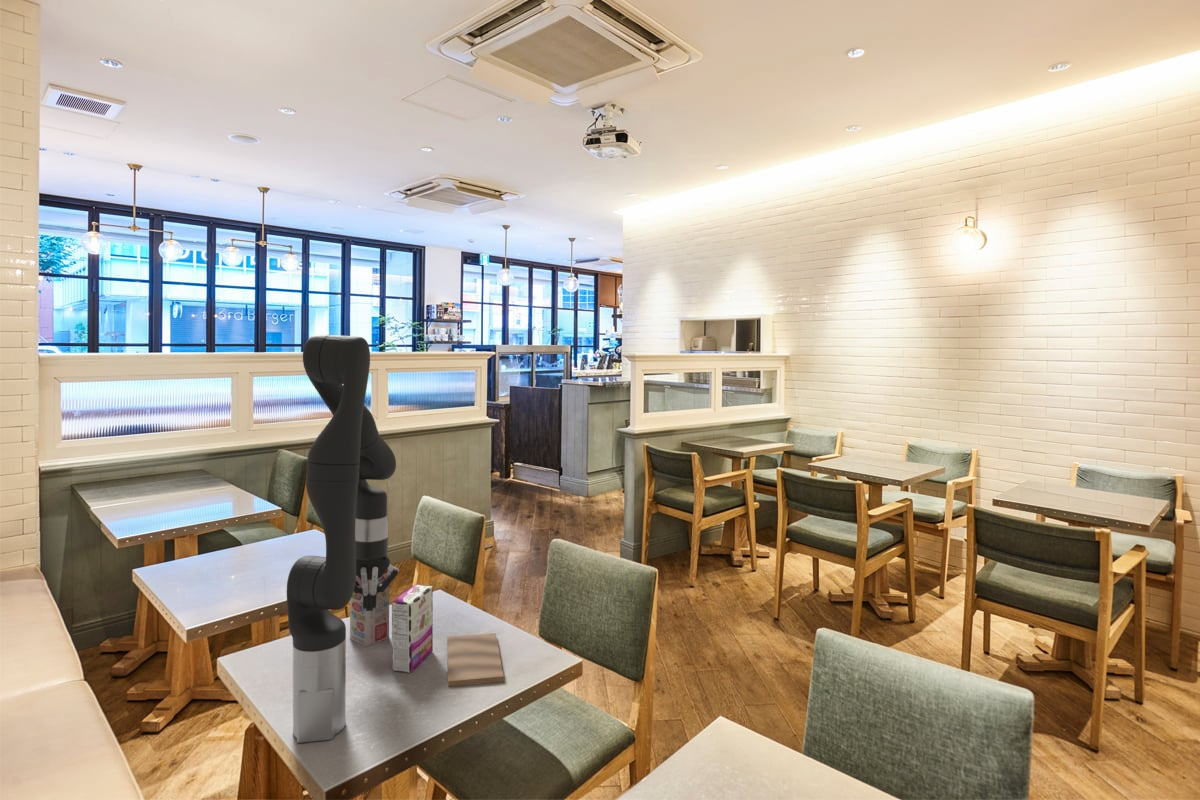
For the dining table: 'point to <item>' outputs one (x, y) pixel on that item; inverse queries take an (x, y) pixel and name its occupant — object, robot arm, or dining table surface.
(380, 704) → the dining table surface
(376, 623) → the juice carton
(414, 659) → the candy bar box
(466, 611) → the dining table surface
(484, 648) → the walnut board
